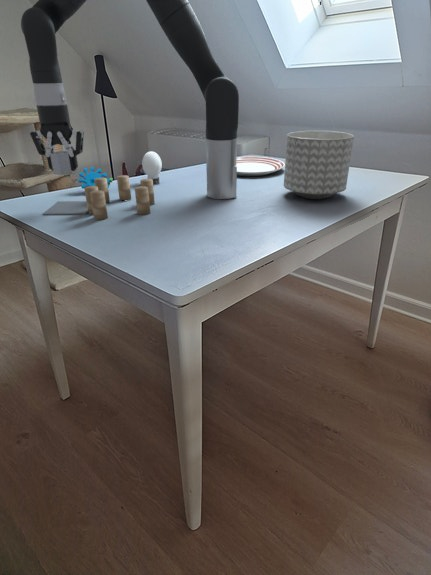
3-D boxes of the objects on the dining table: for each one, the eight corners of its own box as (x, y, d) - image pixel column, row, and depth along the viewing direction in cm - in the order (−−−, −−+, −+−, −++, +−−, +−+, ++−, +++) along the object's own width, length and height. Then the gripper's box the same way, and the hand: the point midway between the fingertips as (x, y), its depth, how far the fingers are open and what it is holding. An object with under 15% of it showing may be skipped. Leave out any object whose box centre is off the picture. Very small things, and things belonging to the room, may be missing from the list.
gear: (80, 191, 125) (76, 164, 127) (79, 201, 130) (75, 175, 132) (115, 192, 129) (111, 166, 132) (112, 201, 134) (108, 176, 137)
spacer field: (157, 197, 124) (155, 174, 120) (147, 219, 105) (144, 193, 101) (102, 198, 124) (98, 175, 121) (81, 220, 105) (76, 194, 102)
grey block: (76, 170, 112) (73, 150, 110) (70, 174, 107) (66, 153, 104) (59, 170, 112) (55, 150, 110) (51, 175, 107) (47, 154, 104)
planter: (355, 195, 124) (365, 134, 115) (325, 208, 112) (333, 141, 103) (303, 185, 136) (308, 129, 127) (270, 196, 123) (274, 135, 115)
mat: (97, 202, 120) (97, 201, 119) (85, 214, 109) (85, 213, 109) (58, 202, 120) (57, 201, 120) (42, 215, 109) (42, 213, 109)
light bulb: (161, 180, 144) (158, 149, 138) (164, 184, 138) (162, 152, 133) (142, 182, 142) (139, 150, 136) (145, 186, 136) (142, 153, 131)
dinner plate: (289, 179, 145) (290, 169, 143) (215, 179, 146) (215, 170, 144) (280, 164, 169) (280, 156, 168) (216, 164, 170) (216, 156, 168)
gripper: (83, 102, 105) (93, 167, 113) (30, 102, 105) (43, 167, 113) (74, 103, 98) (85, 173, 106) (17, 104, 98) (33, 173, 106)
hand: (64, 170), depth 109 cm, fingers closed on grey block, 5 cm apart
